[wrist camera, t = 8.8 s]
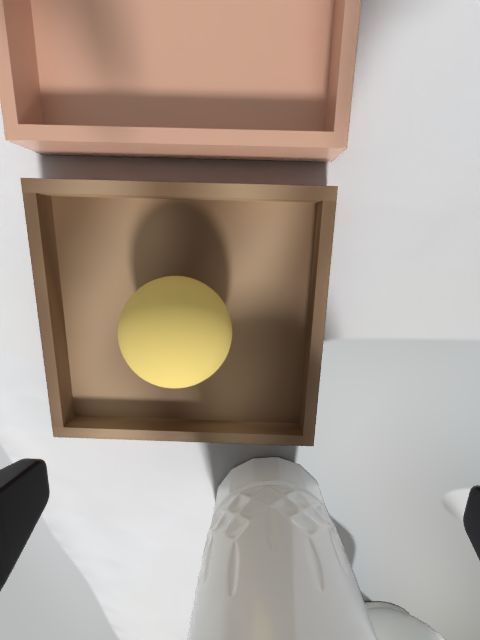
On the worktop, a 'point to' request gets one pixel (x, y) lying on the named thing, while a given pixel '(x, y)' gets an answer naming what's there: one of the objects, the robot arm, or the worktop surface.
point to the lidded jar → (398, 623)
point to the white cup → (275, 562)
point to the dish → (179, 77)
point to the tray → (194, 262)
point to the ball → (174, 332)
